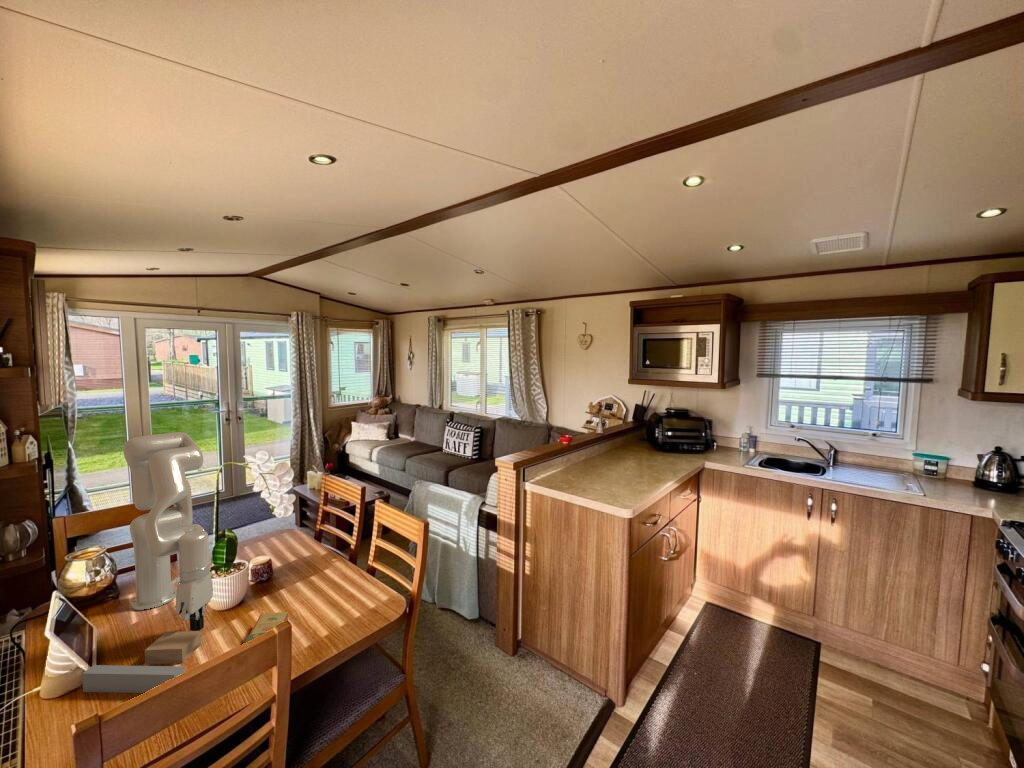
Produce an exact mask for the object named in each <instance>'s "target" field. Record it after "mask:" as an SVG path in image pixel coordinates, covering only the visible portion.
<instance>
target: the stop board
mask: <svg viewBox="0 0 1024 768" xmlns="http://www.w3.org/2000/svg"><path fill="white" fill-rule="evenodd" d="M184 669H185V667H184V666H181V665H180V666H179V665H178V666H177V665H175V666H171V665H168V666H167V665H163V666H162V665H116V664H115V665H111V664H110V665H108V664H98V665H97V664H93V665H92V666H91V667H89V668H87V669H86V670H85V671H84V672H82V674H81V675H82V677H81V678H82V692H83V693H115V694H116V693H117V694H118V693H121V694H122V693H124V694H127V693H128V694H132V693H133V694H139V693H140V694H145V693H144V692H146V691H148V690H150V689H152V688H154V687H156V686H158V685H160V684H162V683H164V682H165V681H167V680H169V679H172V678H174V677H176V676H178V675H180V674H182V673H184V672H185V671H184ZM184 674H185V673H184Z"/></svg>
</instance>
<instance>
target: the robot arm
mask: <svg viewBox="0 0 1024 768" xmlns="http://www.w3.org/2000/svg"><path fill="white" fill-rule="evenodd" d="M122 449H123V450H122V451H123V456H124V459H125V461H126V462H125V463H126V464H127V465H128V467H129V469H130V472H131V479H132V493H133V503H134V506H135V508H136V509H137V510H139V511H149V510H150V511H149V512H148V513H144V514H142V515H139V516H137V517H135V518H134V519H133V520H132V521H131V522H130V524H129V534H130V538H131V540H132V545H133V552H134V553H133V554H134V568H135V569H134V574H135V591H136V592H135V593H136V594H135V595H136V597H135V598H134V599H133V600H132V601H131V602H130V608H131V609H132V610H134V611H135V610H136V611H144V609H147V610H151V609H150V608H152V609H155V608H158V607H161V606H164V605H165V604H167V603H170V602H171V601H173V600H174V599H175V613H176V615H177V616H178V615H181V617H180V621H188V620H189V631H201V630H202V629H203V628H204V627H205V622H204V615H205V613H206V607H207V606H208V604H209V603H210V602H211V600H212V599H213V595H214V586H213V579H212V573H211V569H210V566H211V565H210V539H209V538H210V537H209V533H208V532H207V531H206V530H205V529H204V527H203V526H202V525H200V524H198V523H195V524H194V523H193V518H194V517H193V500H192V499H193V498H192V497H193V496H192V488H191V485H190V482H189V481H188V479H187V475H186V473H187V472H191V471H196V470H199V469H201V468H202V466H203V464H204V456H203V451H202V450H201V448H200V447H199V445H198V444H197V443H196V442H195V441H194V439H193V438H192V437H190V435H189V434H188V433H186V432H183V431H176V432H167V433H156V434H148V435H141V436H136V437H133V438H129V439H128V440H126V441H125V443H124V444H123V448H122ZM172 505H173V507H170V506H172ZM169 507H170V508H169ZM175 554H178V568H179V569H178V571H179V576H176V577H175V578H173V579H172V576H171V575H172V573H171V570H172V569H171V556H173V555H175ZM175 585H177V587H176V588H174V587H175ZM172 599H173V600H172ZM163 604H164V605H163ZM154 607H155V608H154Z"/></svg>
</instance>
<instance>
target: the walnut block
mask: <svg viewBox="0 0 1024 768" xmlns="http://www.w3.org/2000/svg"><path fill="white" fill-rule="evenodd" d="M201 633H202V631H201V630H200V631H190V630H189V631H188V630H187V631H166V632H164V633H163V634H162V635H160V636H159V637H158V638H157V639H156V640H155V641H154V642H153V643H151V644H150V645H149V646H148V647H146V648H145V649H144V666H151V665H169V664H171V665H172V664H183V663H184V662H186V660H187V659H189V657H190V656H192V655H193V653H194V652H195V651H196V650H197V649H199V647H200V646H201V645H202V634H201Z"/></svg>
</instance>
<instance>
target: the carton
mask: <svg viewBox="0 0 1024 768" xmlns="http://www.w3.org/2000/svg"><path fill="white" fill-rule="evenodd" d="M288 613H289V612H288V611H281V612H280V611H279V612H271V613H262V614H260V615H259V617H258V619H257V620H256V622H255V624H254V626H253V628H252V629H251V631H250V633H249V634H248V636H247V638H246V640H245V641H244V643H246V642H248V641H250V640H252V639H254V638H256V637H258V636H260V635H262V634H264V633H266V632H267V631H269V630H271V629H273V628H274V627H275V626H276V625H277V624H279V623H281V622H283V621H287V620H288V619H289V617H288V616H289V614H288ZM288 621H289V620H288Z"/></svg>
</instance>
